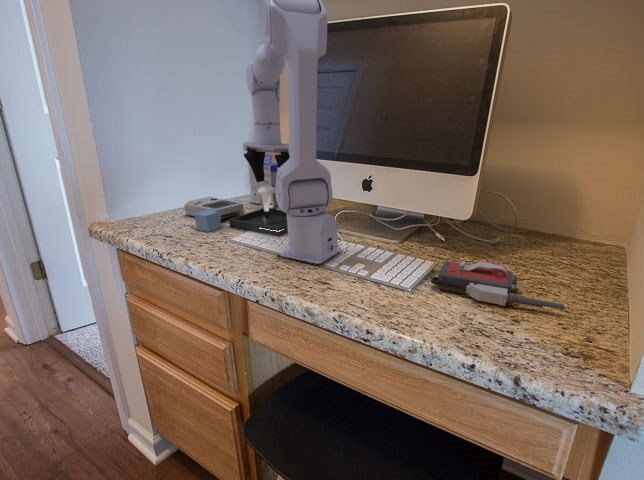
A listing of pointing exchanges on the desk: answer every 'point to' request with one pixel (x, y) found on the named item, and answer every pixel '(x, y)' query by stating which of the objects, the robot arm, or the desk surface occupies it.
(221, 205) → the handheld gaming device
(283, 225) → the tray
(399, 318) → the desk surface
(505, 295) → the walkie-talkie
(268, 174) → the ink cartridge box
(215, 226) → the blue block
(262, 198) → the milkshake
